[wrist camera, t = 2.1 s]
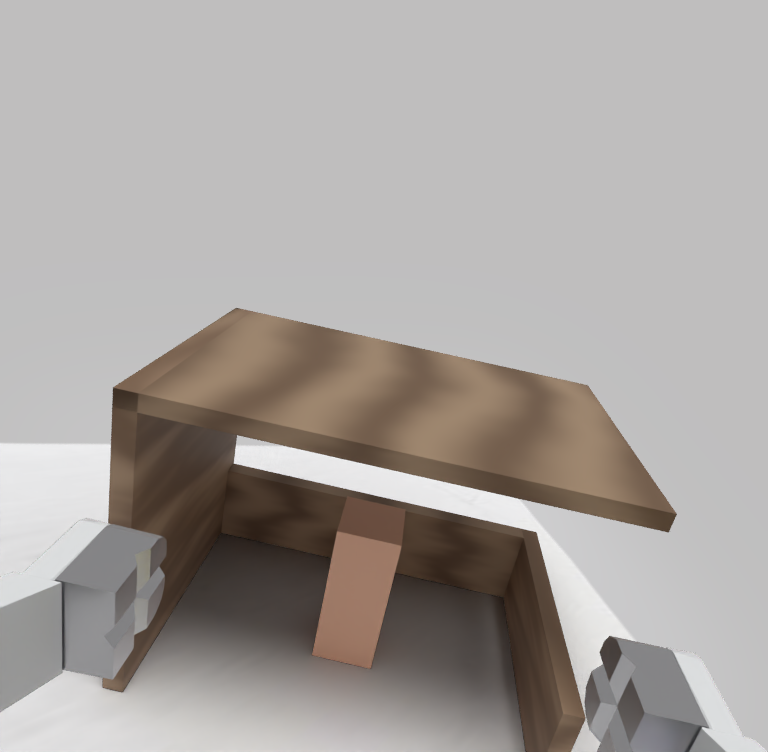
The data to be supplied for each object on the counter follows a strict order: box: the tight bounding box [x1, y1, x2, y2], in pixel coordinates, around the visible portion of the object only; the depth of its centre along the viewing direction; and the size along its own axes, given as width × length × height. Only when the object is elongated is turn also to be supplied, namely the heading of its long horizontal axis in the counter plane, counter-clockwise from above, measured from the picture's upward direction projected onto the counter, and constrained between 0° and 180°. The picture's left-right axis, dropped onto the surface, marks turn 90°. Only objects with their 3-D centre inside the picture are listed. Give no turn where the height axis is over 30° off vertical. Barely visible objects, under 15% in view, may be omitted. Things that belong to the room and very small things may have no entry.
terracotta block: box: [312, 496, 406, 669], centre depth 38 cm, size 4×4×10 cm
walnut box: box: [103, 308, 677, 752], centre depth 37 cm, size 26×17×19 cm, turn 84°
